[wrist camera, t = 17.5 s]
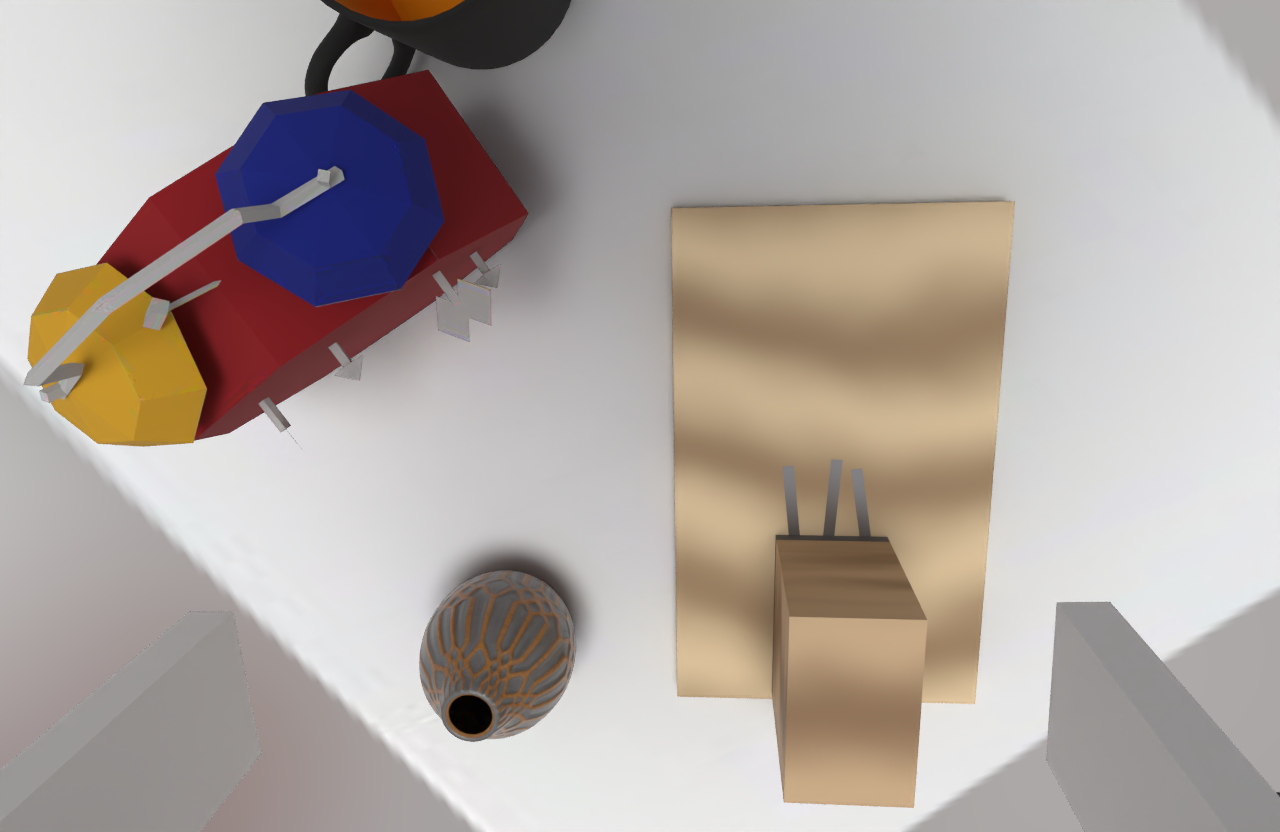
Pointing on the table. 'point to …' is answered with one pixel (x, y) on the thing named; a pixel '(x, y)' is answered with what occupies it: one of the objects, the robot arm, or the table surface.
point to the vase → (497, 655)
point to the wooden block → (846, 671)
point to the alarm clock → (276, 266)
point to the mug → (438, 32)
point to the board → (833, 416)
